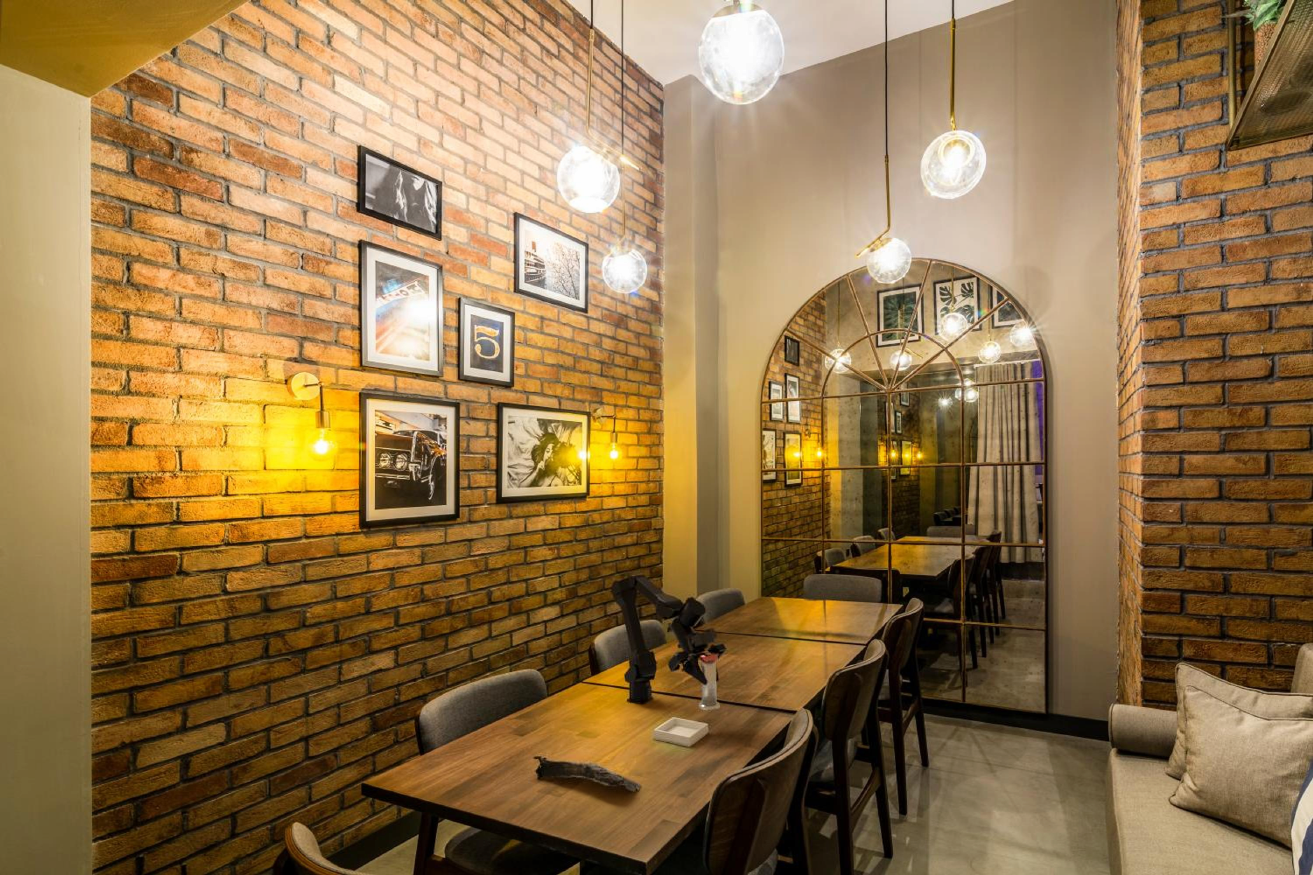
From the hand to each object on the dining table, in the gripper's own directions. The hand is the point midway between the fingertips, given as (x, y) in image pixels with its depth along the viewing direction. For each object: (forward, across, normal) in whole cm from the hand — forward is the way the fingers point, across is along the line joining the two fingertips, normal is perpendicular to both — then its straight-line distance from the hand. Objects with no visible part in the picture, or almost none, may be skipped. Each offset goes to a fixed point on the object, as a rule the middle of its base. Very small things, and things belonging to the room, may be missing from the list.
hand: (712, 682), depth 189 cm
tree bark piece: (+12, -44, +7) cm, 47 cm away
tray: (+8, -9, +12) cm, 17 cm away
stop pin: (+4, 0, +6) cm, 7 cm away
